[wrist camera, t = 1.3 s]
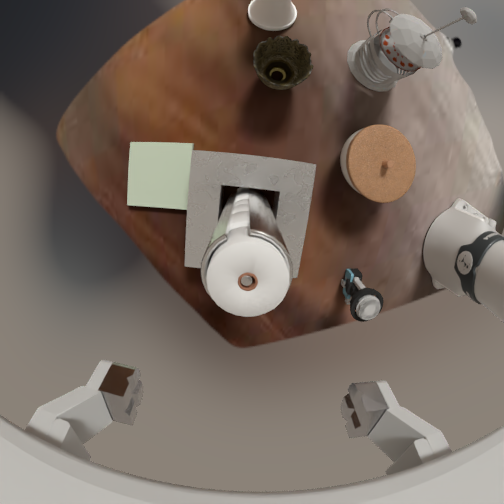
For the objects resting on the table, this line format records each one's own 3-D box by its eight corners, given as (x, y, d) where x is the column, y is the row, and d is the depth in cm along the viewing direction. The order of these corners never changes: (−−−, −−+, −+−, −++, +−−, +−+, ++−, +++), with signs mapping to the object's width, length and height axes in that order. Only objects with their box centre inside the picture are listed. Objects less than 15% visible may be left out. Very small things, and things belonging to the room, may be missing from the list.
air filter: (274, 194, 41) (311, 252, 18) (260, 234, 43) (274, 331, 20) (233, 180, 40) (213, 219, 17) (220, 220, 42) (187, 306, 19)
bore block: (306, 163, 39) (316, 164, 34) (291, 262, 45) (296, 277, 39) (199, 150, 39) (191, 150, 33) (192, 251, 44) (184, 266, 38)
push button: (358, 299, 48) (379, 330, 38) (331, 300, 48) (348, 333, 38) (364, 266, 45) (389, 292, 36) (336, 266, 45) (356, 294, 36)
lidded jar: (329, 125, 37) (351, 119, 29) (390, 131, 37) (422, 129, 29) (331, 194, 41) (352, 205, 32) (390, 194, 41) (420, 206, 32)
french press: (364, 98, 36) (472, 62, 12) (330, 37, 32) (402, -45, 9) (408, 84, 34) (516, 57, 11) (377, 27, 31) (461, -34, 7)
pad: (194, 143, 38) (192, 143, 37) (188, 208, 42) (187, 209, 41) (133, 142, 38) (130, 142, 37) (129, 204, 41) (127, 205, 40)
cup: (302, 99, 36) (315, 87, 28) (253, 98, 36) (254, 85, 28) (300, 56, 33) (311, 37, 26) (251, 55, 33) (252, 34, 26)
